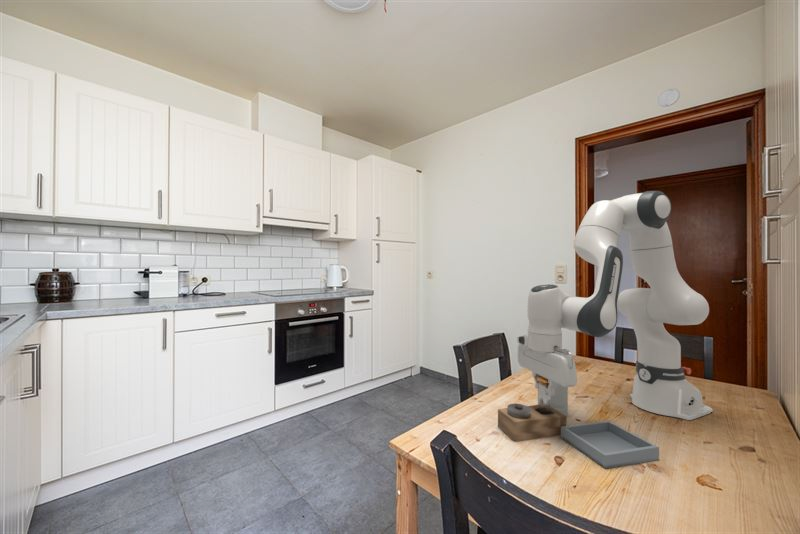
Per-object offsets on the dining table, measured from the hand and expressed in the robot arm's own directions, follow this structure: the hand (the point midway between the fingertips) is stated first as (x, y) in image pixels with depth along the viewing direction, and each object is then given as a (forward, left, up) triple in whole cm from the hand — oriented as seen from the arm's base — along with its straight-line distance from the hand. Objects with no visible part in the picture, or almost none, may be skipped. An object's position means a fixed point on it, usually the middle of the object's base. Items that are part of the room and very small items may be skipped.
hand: (544, 391), depth 90 cm
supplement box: (-11, -10, -11) cm, 18 cm away
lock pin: (0, 0, -7) cm, 7 cm away
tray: (-9, +12, -10) cm, 18 cm away
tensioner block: (+4, 0, -10) cm, 11 cm away
